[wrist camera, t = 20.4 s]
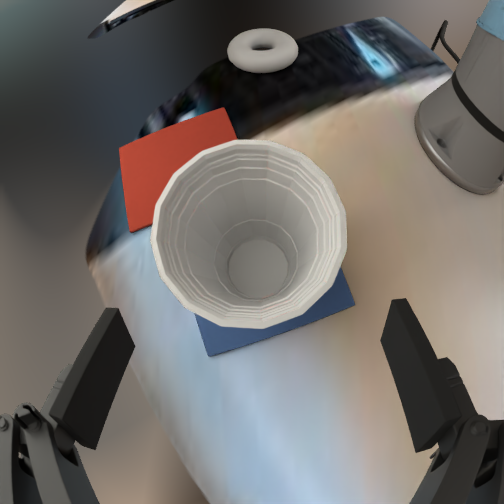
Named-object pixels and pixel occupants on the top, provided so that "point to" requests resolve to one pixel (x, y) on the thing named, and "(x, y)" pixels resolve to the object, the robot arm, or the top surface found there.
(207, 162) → the plastic cup
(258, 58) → the donut
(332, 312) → the blue mat
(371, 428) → the top surface
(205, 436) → the top surface
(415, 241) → the top surface
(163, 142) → the red mat
